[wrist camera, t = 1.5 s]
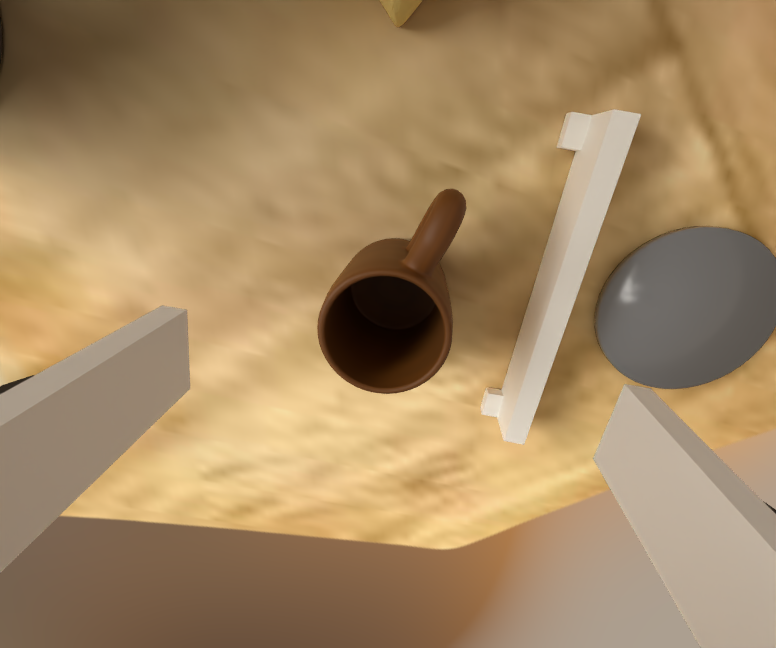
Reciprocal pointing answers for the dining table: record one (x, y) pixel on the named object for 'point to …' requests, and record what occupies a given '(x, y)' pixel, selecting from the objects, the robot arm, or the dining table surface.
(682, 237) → the disc
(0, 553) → the robot arm
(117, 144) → the dining table surface
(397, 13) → the cheese
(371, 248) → the mug
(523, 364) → the rail
